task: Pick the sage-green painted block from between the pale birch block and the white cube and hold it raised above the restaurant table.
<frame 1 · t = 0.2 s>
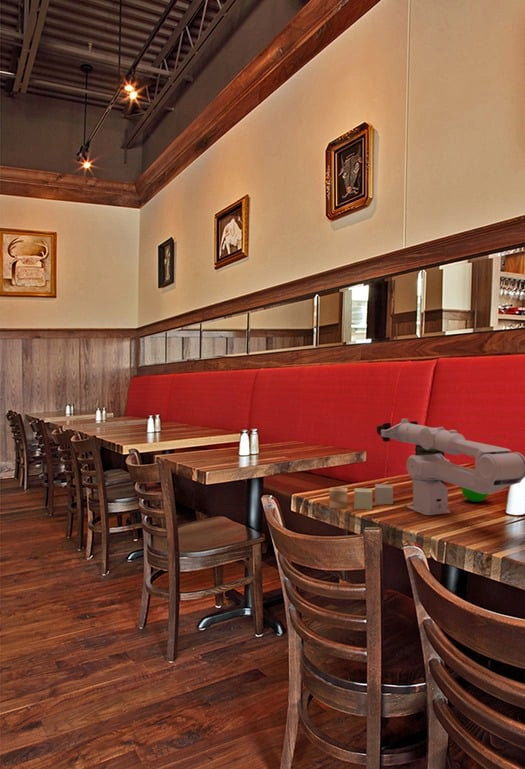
hand: (388, 428, 170), 21 cm above the table, tool horizontal, fingers open, 7 cm apart
supplement bottle: (420, 493, 175), on the table
white cube: (383, 502, 162), on the table
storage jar: (429, 484, 190), on the table
ornament: (475, 502, 162), on the table
birch block: (338, 506, 157), on the table
sage block: (363, 507, 156), on the table
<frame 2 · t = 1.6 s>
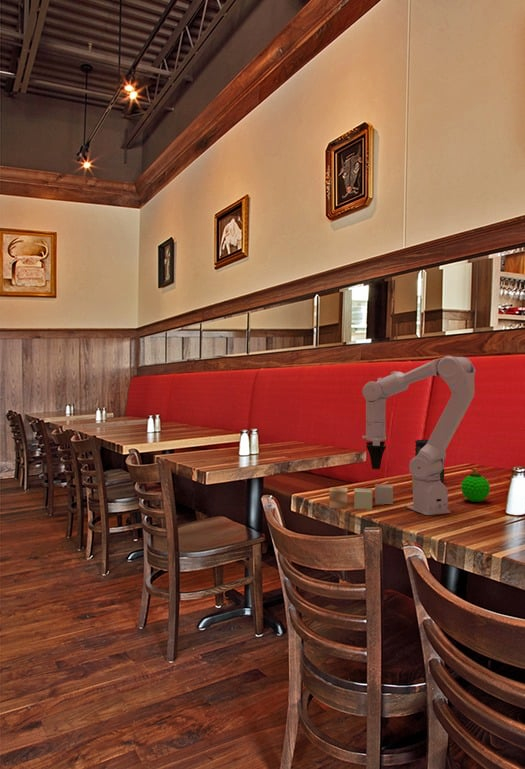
hand: (375, 467, 163), 10 cm above the table, tool pointing down, fingers open, 7 cm apart
nothing on the table moved.
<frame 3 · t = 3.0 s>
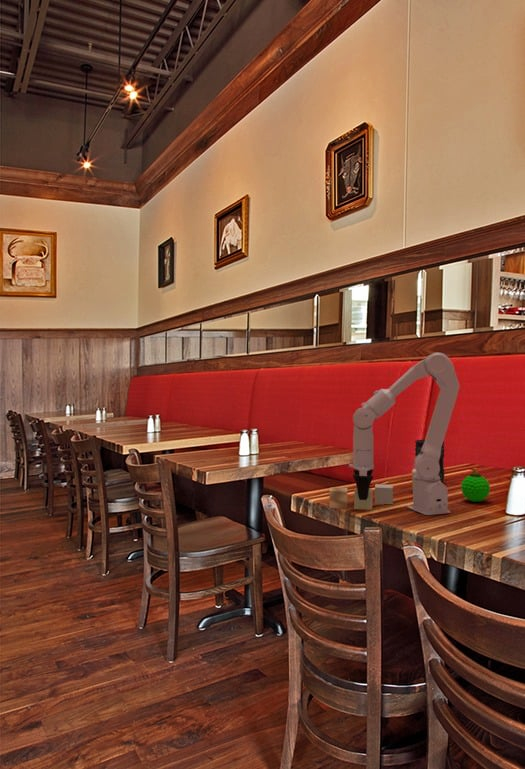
hand: (363, 496, 156), 3 cm above the table, tool pointing down, fingers open, 7 cm apart
nothing on the table moved.
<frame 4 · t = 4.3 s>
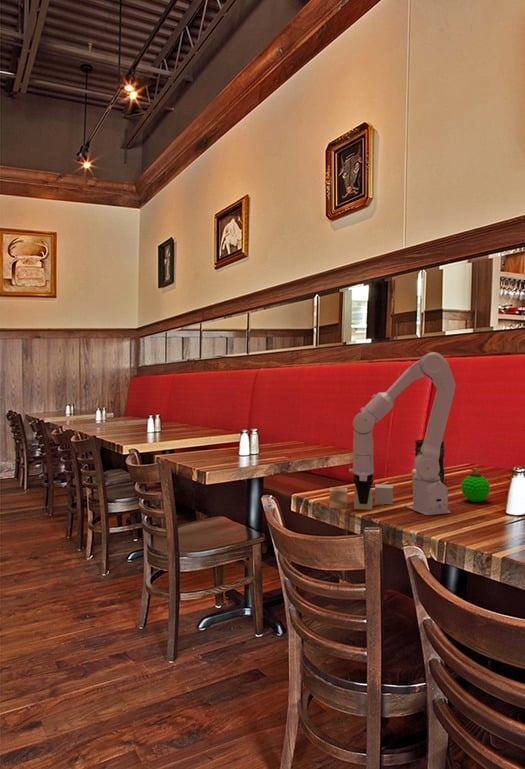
hand: (363, 501, 156), 2 cm above the table, tool pointing down, fingers closed on sage block, 5 cm apart
sage block: (363, 507, 156), on the table, touching gripper
everything else where it was.
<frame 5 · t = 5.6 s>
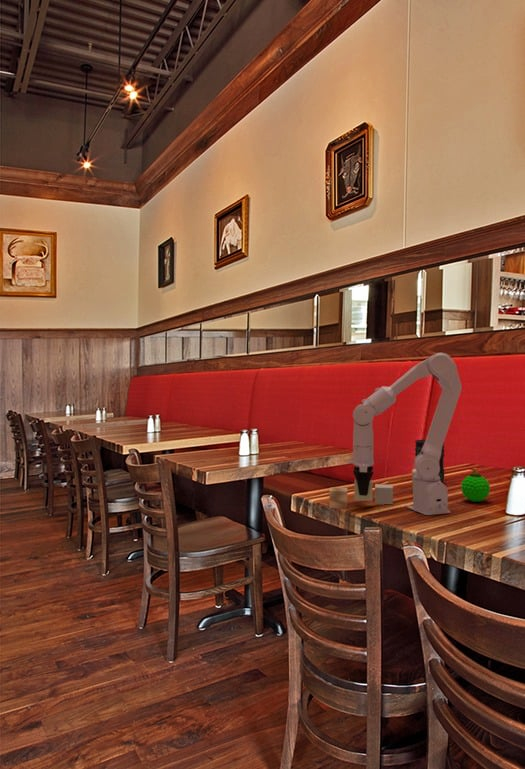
hand: (363, 493, 156), 4 cm above the table, tool pointing down, fingers closed on sage block, 5 cm apart
sage block: (363, 498, 156), point 2 cm above the table, touching gripper
everything else where it was.
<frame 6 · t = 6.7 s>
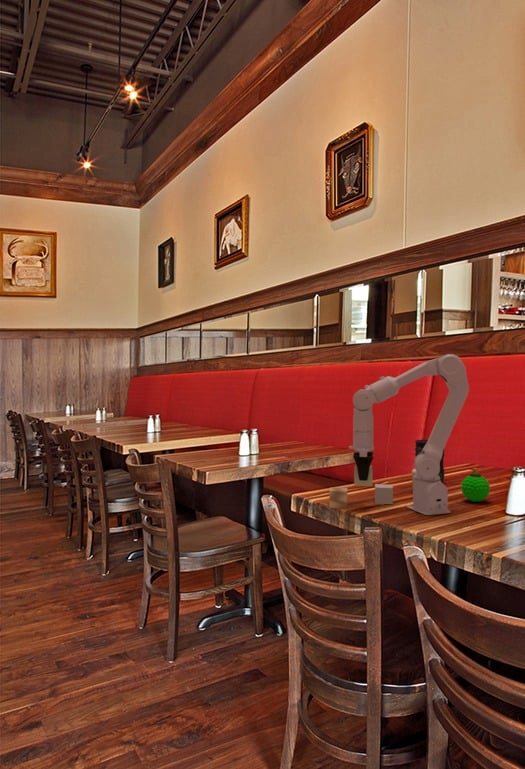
hand: (363, 478, 156), 8 cm above the table, tool pointing down, fingers closed on sage block, 5 cm apart
sage block: (363, 484, 156), point 7 cm above the table, touching gripper
everything else where it was.
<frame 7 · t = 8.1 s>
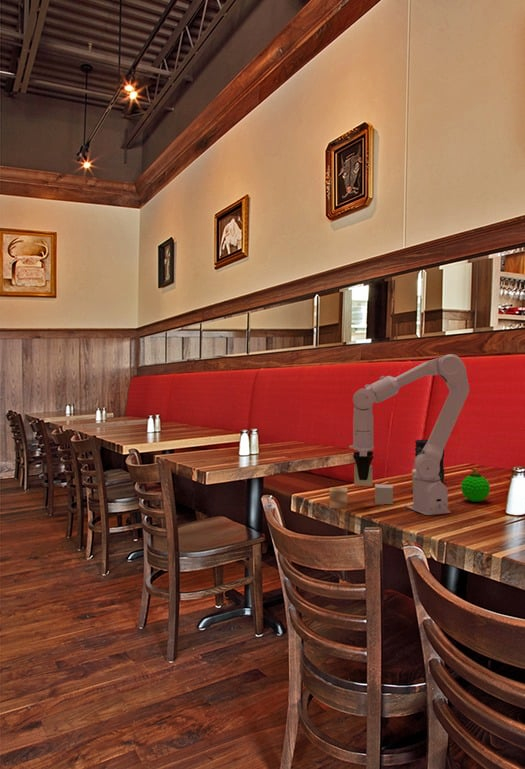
hand: (363, 478, 156), 8 cm above the table, tool pointing down, fingers closed on sage block, 5 cm apart
sage block: (363, 483, 156), point 7 cm above the table, touching gripper
everything else where it was.
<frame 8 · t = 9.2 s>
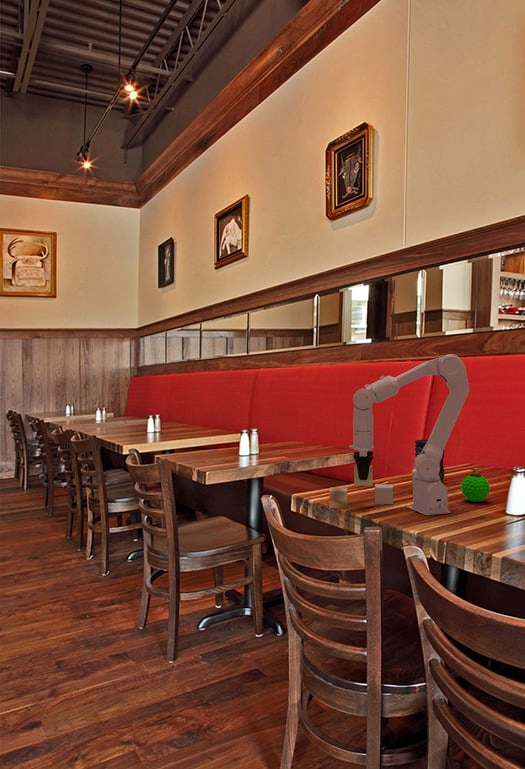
hand: (363, 478, 156), 8 cm above the table, tool pointing down, fingers closed on sage block, 5 cm apart
sage block: (363, 483, 156), point 7 cm above the table, touching gripper
everything else where it was.
at the end: sage block point 6.8 cm above the table; birch block moved 0.1 cm from its start; white cube moved 0.1 cm from its start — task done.
